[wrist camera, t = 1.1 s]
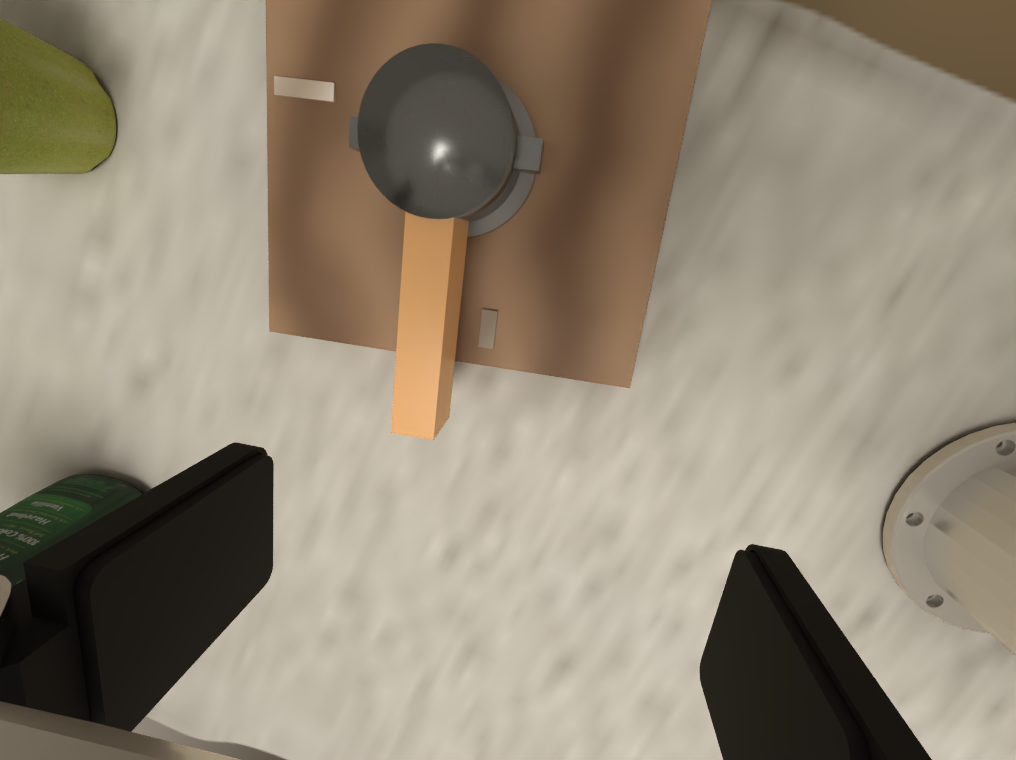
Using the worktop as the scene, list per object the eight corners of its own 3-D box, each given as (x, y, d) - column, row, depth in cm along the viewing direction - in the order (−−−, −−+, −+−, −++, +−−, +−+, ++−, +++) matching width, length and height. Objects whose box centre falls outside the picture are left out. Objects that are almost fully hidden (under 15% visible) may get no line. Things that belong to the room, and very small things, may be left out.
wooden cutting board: (713, -48, 21) (736, -93, 19) (625, 378, 27) (632, 393, 24) (289, -84, 23) (250, -131, 20) (289, 325, 29) (258, 334, 26)
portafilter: (554, 90, 21) (551, 54, 17) (508, 422, 25) (497, 453, 21) (376, 70, 21) (334, 32, 18) (361, 397, 26) (325, 424, 22)
